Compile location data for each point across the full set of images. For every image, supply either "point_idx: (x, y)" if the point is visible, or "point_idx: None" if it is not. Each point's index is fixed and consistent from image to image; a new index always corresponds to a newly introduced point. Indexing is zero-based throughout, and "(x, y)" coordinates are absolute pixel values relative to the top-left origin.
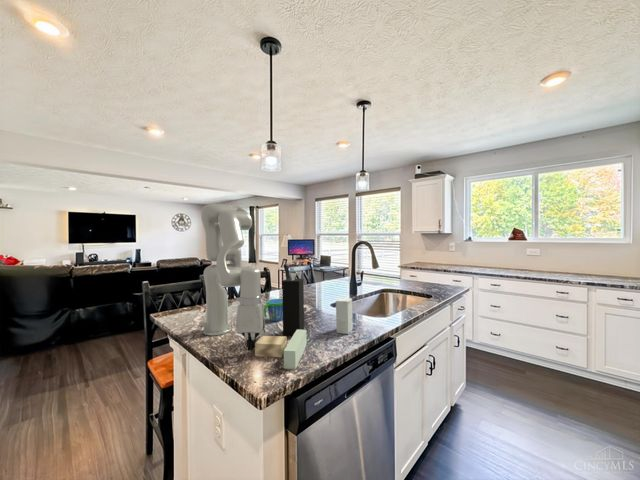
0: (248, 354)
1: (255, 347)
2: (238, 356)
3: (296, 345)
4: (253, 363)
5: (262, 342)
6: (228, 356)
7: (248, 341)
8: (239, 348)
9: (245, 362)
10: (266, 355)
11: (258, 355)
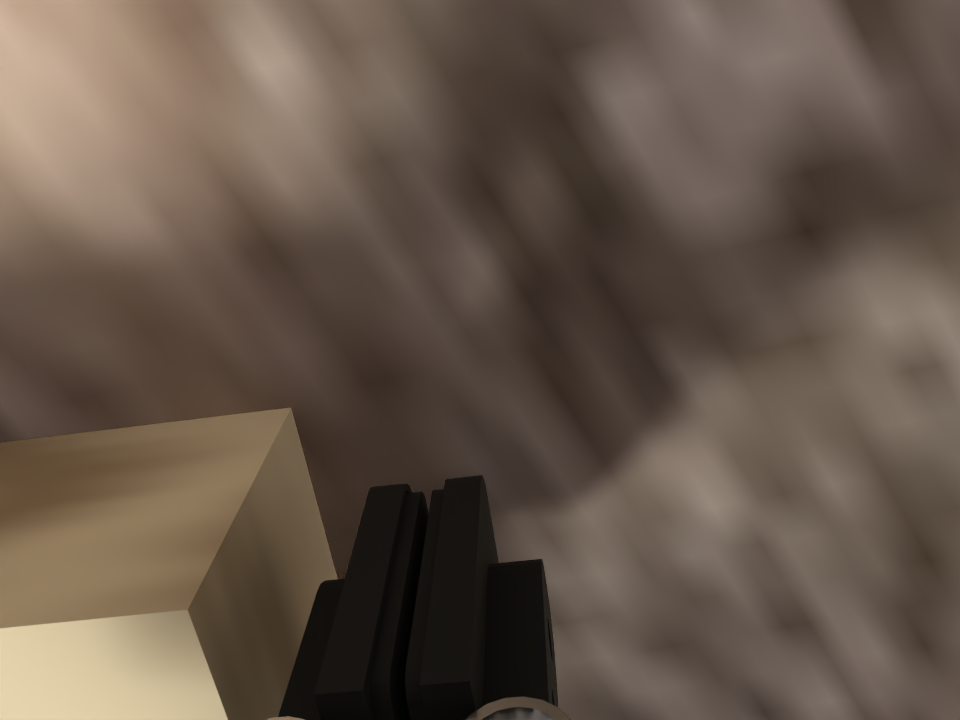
0: (491, 444)
1: (215, 528)
2: (675, 302)
3: None
4: (72, 42)
5: (14, 709)
6: (939, 243)
7: (436, 648)
8: (852, 648)
9: (307, 39)
10: (18, 451)
11: (207, 425)
